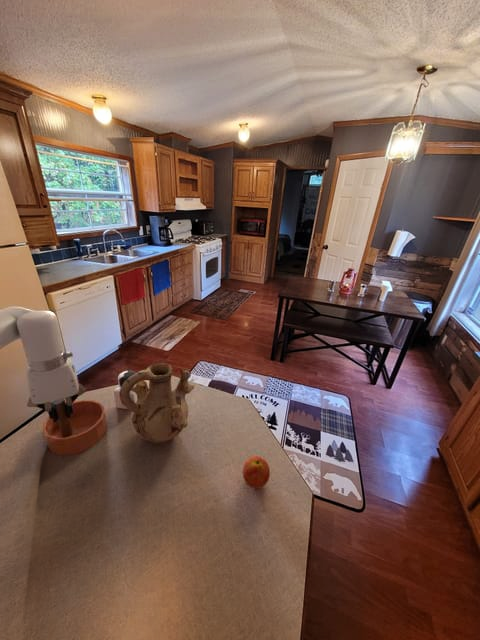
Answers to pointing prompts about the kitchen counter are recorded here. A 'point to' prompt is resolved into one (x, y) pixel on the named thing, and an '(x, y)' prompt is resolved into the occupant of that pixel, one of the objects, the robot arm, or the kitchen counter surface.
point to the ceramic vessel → (157, 402)
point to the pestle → (63, 419)
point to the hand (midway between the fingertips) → (62, 416)
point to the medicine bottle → (121, 380)
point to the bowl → (77, 428)
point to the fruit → (256, 472)
